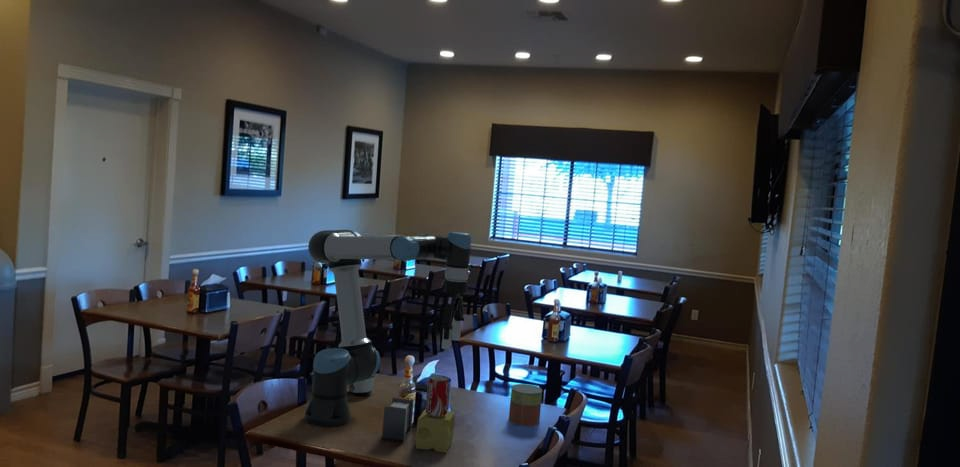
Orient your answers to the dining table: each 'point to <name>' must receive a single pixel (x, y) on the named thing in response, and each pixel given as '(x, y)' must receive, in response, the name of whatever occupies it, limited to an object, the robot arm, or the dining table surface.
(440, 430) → the cheese
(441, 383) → the soda can
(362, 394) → the spread jar
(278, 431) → the dining table surface
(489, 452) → the dining table surface
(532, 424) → the canned food
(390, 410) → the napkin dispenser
